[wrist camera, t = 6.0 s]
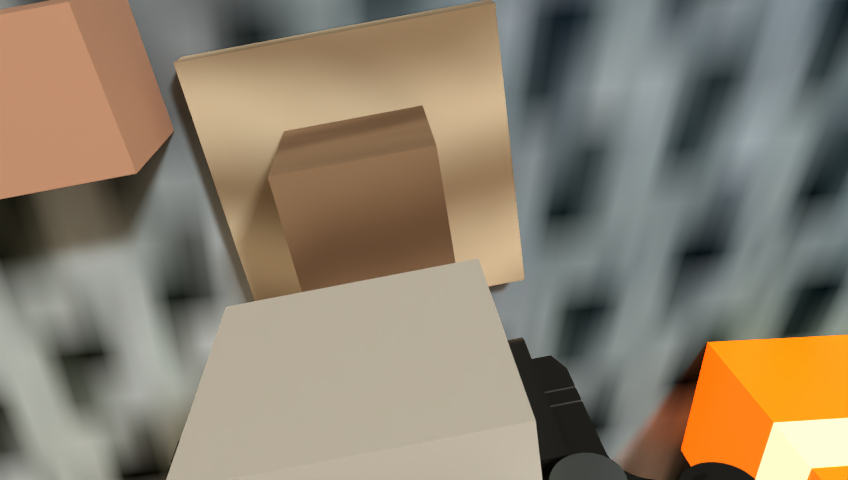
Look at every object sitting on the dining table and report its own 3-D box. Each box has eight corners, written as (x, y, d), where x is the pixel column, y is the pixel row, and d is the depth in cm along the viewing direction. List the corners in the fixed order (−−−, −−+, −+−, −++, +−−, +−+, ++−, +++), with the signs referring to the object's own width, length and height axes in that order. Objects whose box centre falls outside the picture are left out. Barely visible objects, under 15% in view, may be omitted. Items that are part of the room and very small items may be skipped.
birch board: (181, 56, 24) (173, 63, 23) (488, -1, 25) (494, 3, 23) (267, 314, 30) (264, 329, 29) (518, 266, 30) (524, 279, 29)
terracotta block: (-25, 14, 23) (-116, 36, 19) (123, -14, 23) (68, 1, 19) (40, 155, 26) (-26, 204, 21) (174, 130, 26) (136, 173, 21)
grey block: (226, 306, 14) (161, 492, 9) (478, 258, 14) (535, 421, 9) (292, 486, 16) (266, 702, 12) (506, 445, 16) (561, 645, 12)
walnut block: (284, 131, 25) (267, 177, 20) (422, 105, 25) (436, 145, 20) (317, 253, 27) (309, 317, 23) (443, 229, 27) (459, 289, 23)
